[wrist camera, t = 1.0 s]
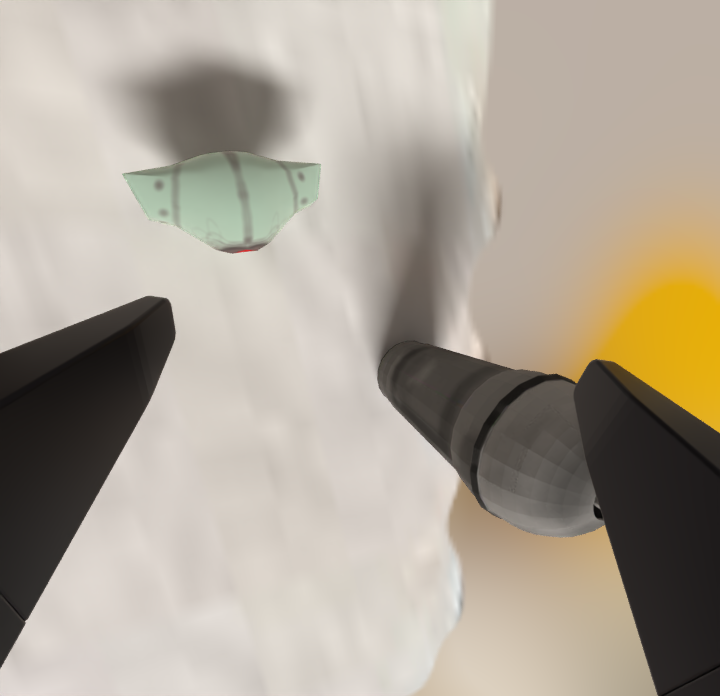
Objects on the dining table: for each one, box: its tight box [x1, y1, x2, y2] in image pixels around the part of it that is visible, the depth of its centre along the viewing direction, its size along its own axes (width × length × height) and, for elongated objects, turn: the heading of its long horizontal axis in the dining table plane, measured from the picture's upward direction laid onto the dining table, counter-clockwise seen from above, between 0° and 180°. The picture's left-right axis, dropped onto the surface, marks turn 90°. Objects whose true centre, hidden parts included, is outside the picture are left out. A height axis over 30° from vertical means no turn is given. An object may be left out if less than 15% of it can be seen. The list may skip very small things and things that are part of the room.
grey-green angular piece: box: [122, 151, 321, 254], centre depth 19 cm, size 8×4×7 cm, turn 96°
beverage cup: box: [378, 341, 605, 537], centre depth 21 cm, size 7×7×20 cm
